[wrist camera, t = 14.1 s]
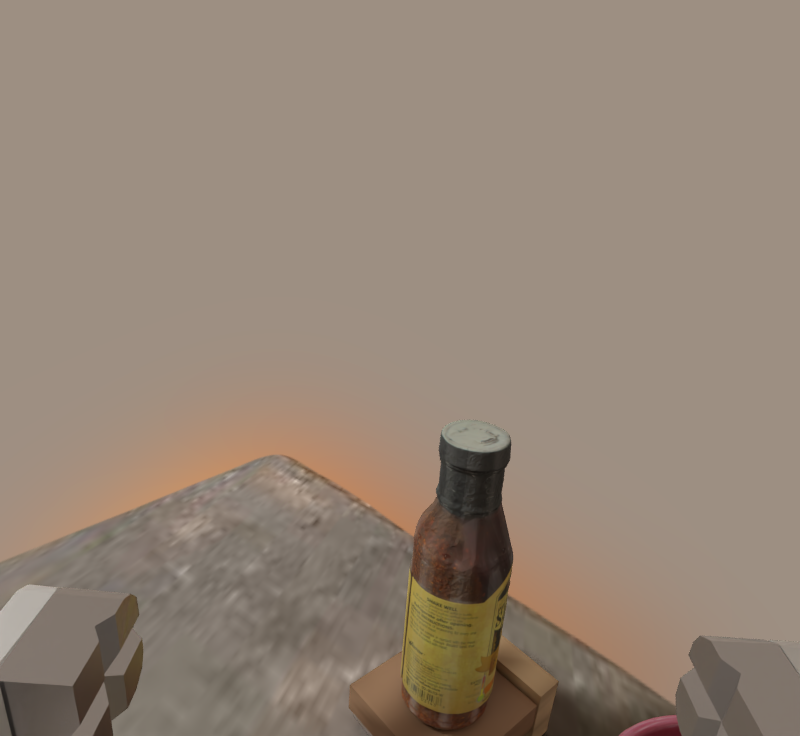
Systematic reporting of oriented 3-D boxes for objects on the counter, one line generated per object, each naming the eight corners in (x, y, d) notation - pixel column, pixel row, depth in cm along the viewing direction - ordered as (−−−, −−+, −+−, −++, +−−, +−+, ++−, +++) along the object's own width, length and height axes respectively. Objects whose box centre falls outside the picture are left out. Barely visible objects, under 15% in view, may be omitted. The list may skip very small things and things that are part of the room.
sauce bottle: (501, 730, 41) (556, 468, 33) (406, 741, 39) (439, 471, 32) (473, 649, 46) (513, 410, 39) (390, 656, 45) (414, 411, 37)
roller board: (347, 729, 45) (350, 678, 43) (457, 651, 52) (464, 604, 50) (435, 836, 39) (444, 782, 37) (546, 731, 46) (558, 681, 44)
